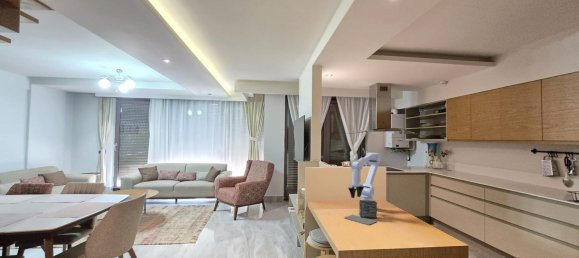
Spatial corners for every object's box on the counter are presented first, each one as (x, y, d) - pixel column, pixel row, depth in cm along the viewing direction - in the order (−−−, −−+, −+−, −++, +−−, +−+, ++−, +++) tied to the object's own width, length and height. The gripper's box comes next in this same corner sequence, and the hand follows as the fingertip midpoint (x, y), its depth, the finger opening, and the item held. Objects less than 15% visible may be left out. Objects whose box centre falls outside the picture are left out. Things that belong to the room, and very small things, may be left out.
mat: (352, 215, 173) (352, 214, 173) (376, 221, 160) (376, 221, 160) (343, 218, 166) (343, 217, 166) (368, 225, 153) (368, 224, 153)
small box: (374, 216, 172) (375, 200, 173) (377, 218, 166) (377, 202, 167) (358, 214, 173) (359, 199, 174) (360, 217, 167) (361, 201, 168)
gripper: (355, 179, 175) (354, 199, 174) (366, 178, 185) (366, 197, 184) (346, 178, 180) (346, 197, 179) (358, 177, 190) (357, 195, 189)
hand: (355, 197), depth 182 cm, fingers open, 7 cm apart
